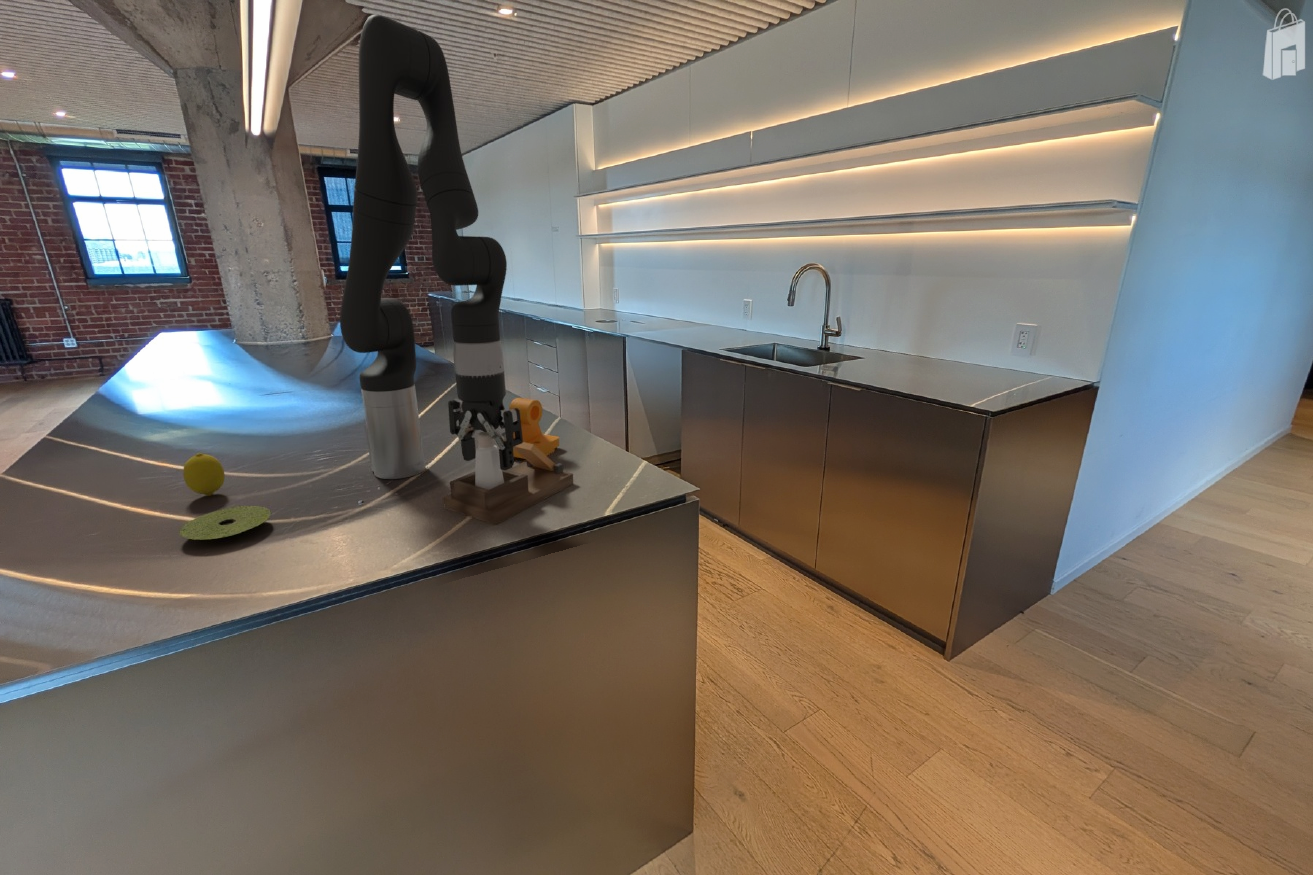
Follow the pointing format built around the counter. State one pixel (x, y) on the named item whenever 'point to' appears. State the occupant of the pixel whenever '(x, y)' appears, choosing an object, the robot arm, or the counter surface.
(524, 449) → the tan flat block
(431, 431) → the counter surface
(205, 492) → the lemon
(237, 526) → the green abrasive disc
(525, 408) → the bracket
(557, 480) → the brown open tray piece
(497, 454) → the salt shaker
